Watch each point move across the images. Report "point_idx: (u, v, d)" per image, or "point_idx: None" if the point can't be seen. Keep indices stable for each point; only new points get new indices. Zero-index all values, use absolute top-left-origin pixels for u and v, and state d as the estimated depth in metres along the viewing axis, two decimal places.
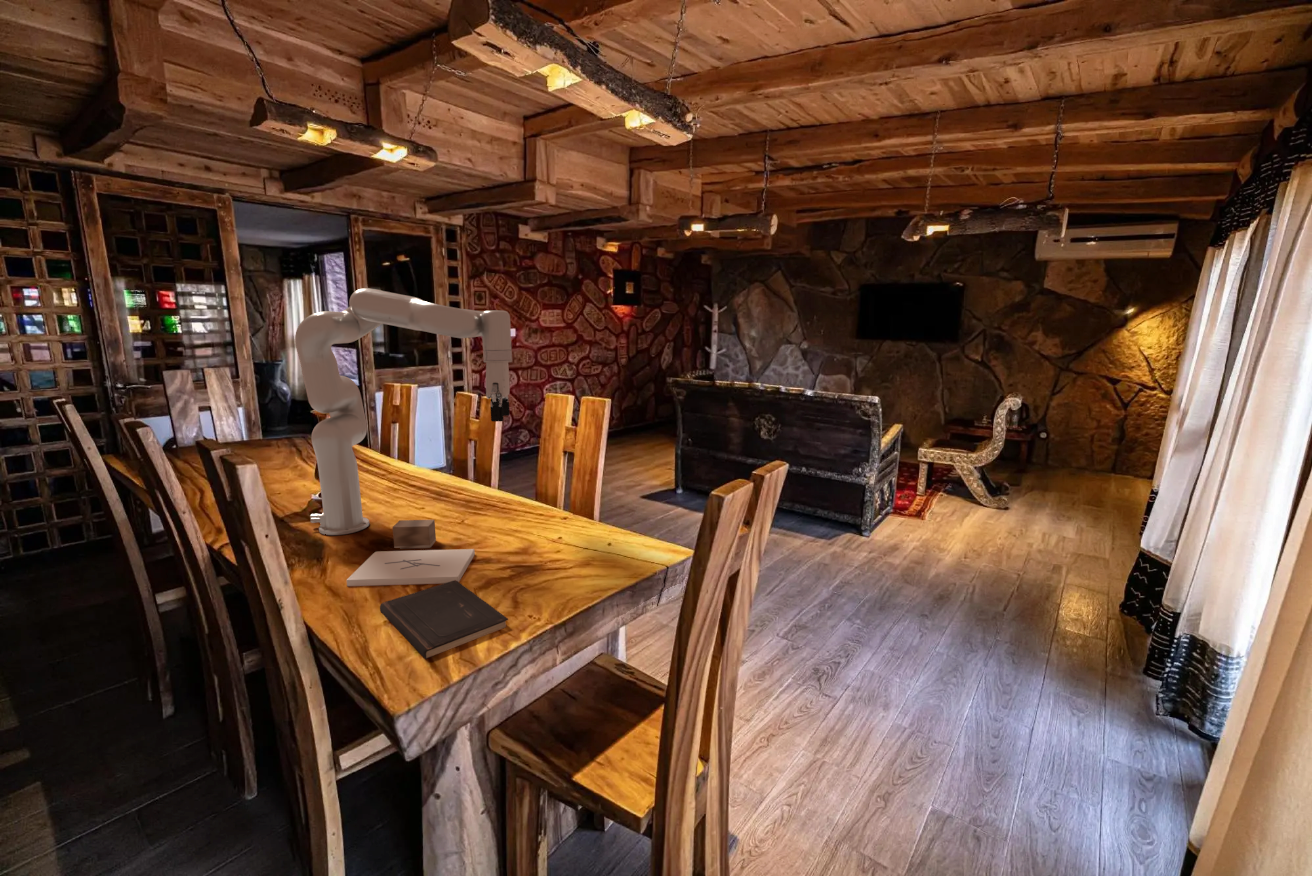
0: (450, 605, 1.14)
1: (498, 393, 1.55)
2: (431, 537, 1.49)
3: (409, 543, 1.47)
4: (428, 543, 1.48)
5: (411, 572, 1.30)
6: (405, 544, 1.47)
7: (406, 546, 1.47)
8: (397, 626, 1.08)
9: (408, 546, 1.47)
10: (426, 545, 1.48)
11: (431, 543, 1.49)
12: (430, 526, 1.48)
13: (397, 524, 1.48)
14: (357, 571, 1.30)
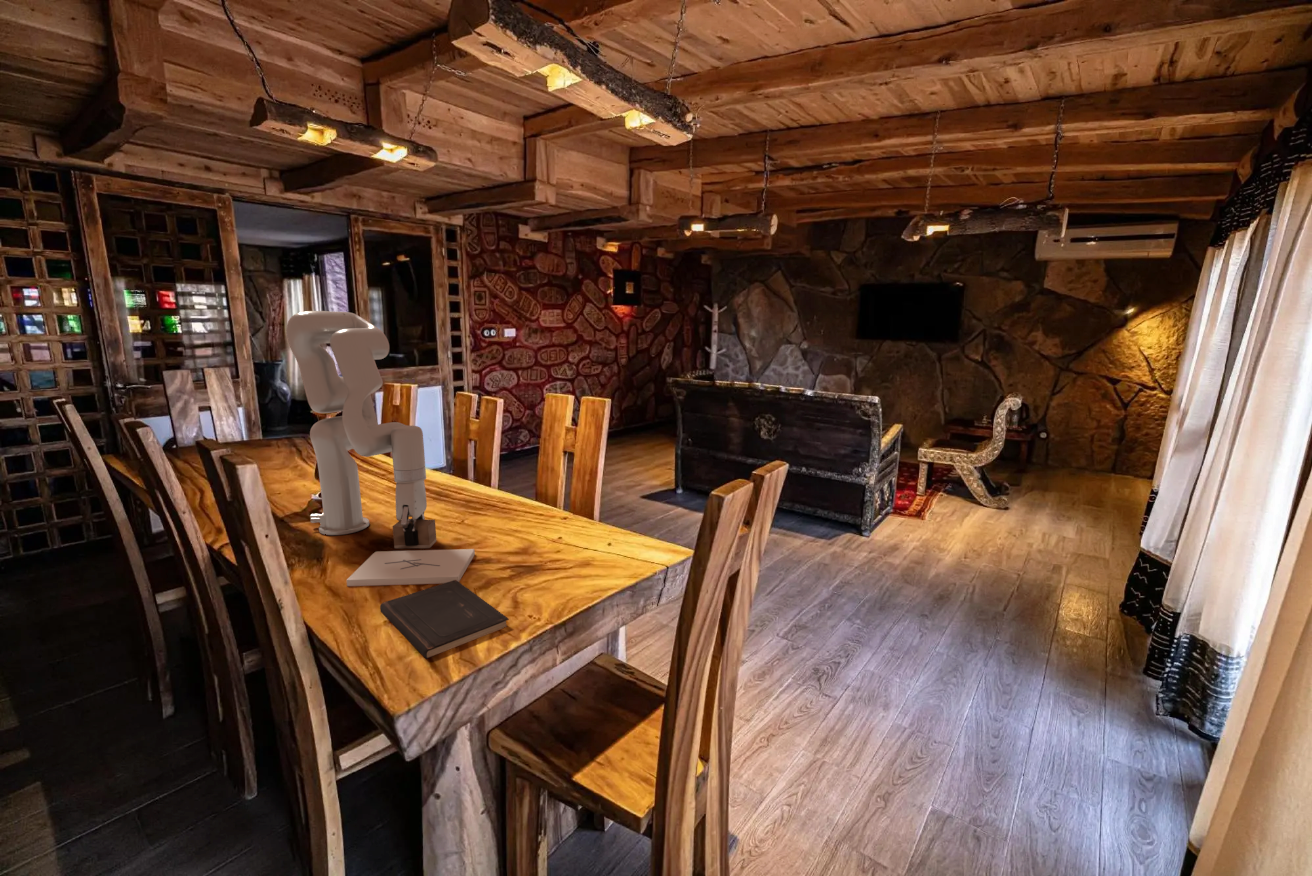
0: (451, 604, 1.14)
1: (411, 515, 1.46)
2: (431, 537, 1.49)
3: None
4: (427, 543, 1.47)
5: (411, 572, 1.30)
6: None
7: None
8: (397, 626, 1.08)
9: None
10: (425, 545, 1.47)
11: (431, 543, 1.49)
12: (429, 525, 1.48)
13: (397, 523, 1.48)
14: (357, 571, 1.30)
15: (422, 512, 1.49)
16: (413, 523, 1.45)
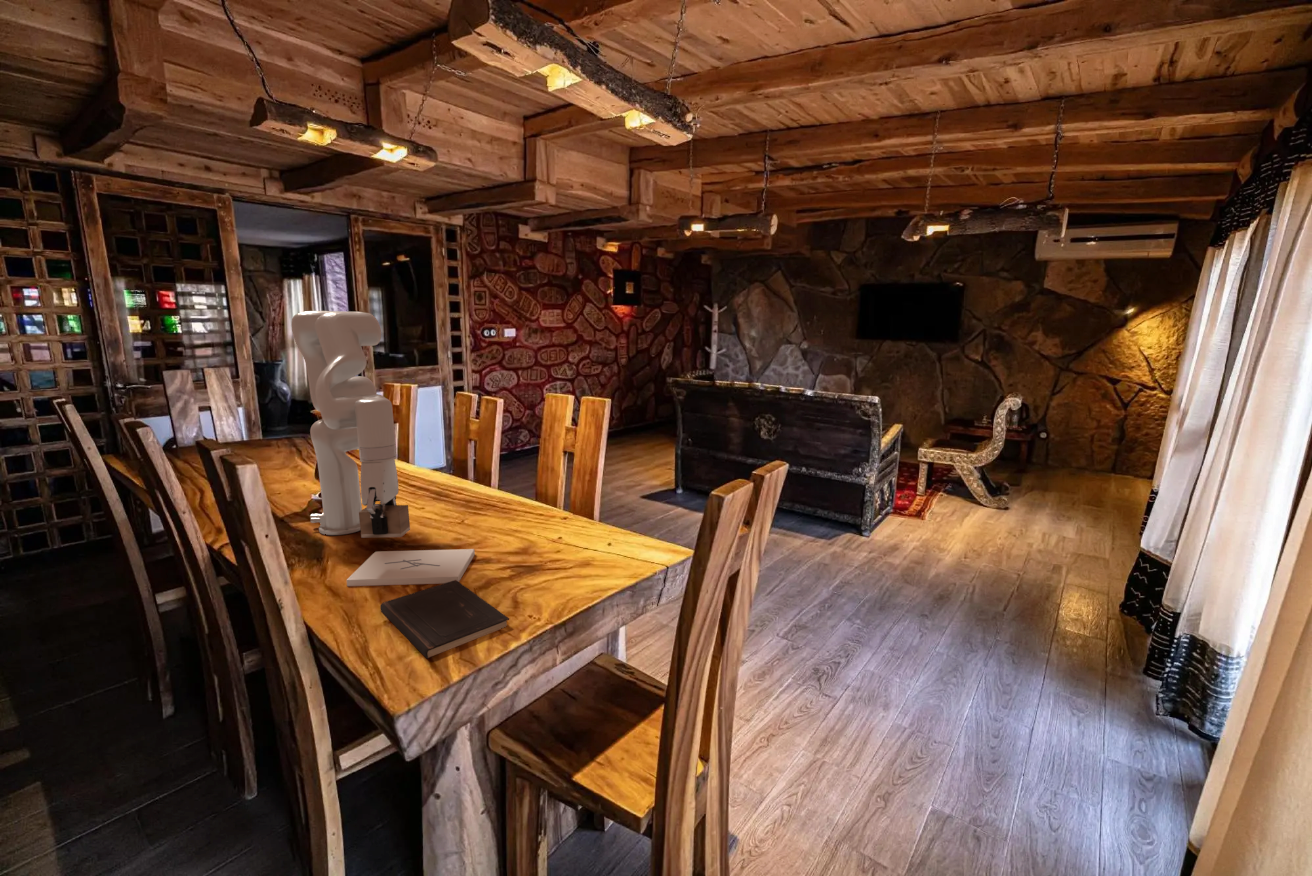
0: (451, 604, 1.14)
1: (379, 499, 1.28)
2: (403, 525, 1.31)
3: None
4: (399, 531, 1.30)
5: (411, 572, 1.30)
6: None
7: None
8: (398, 626, 1.08)
9: None
10: (397, 533, 1.30)
11: (403, 531, 1.31)
12: (401, 511, 1.30)
13: (365, 509, 1.30)
14: (357, 571, 1.30)
15: (393, 497, 1.31)
16: (381, 508, 1.27)
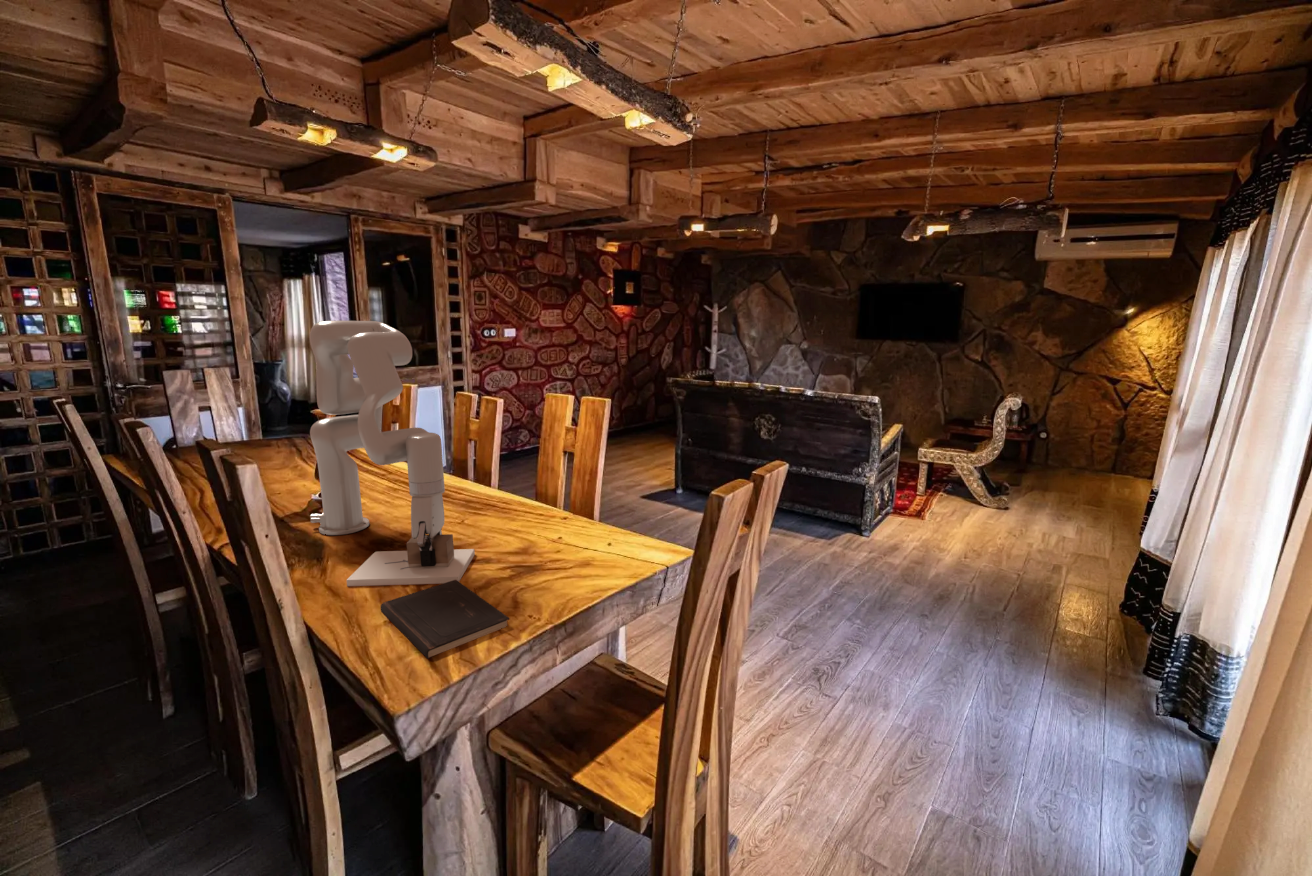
0: (451, 604, 1.14)
1: (428, 532, 1.31)
2: (449, 554, 1.34)
3: None
4: (446, 561, 1.32)
5: (411, 572, 1.30)
6: (420, 562, 1.32)
7: None
8: (398, 626, 1.08)
9: None
10: (443, 563, 1.32)
11: (449, 561, 1.34)
12: (448, 541, 1.33)
13: (411, 539, 1.33)
14: (357, 571, 1.30)
15: (440, 528, 1.34)
16: (430, 541, 1.30)
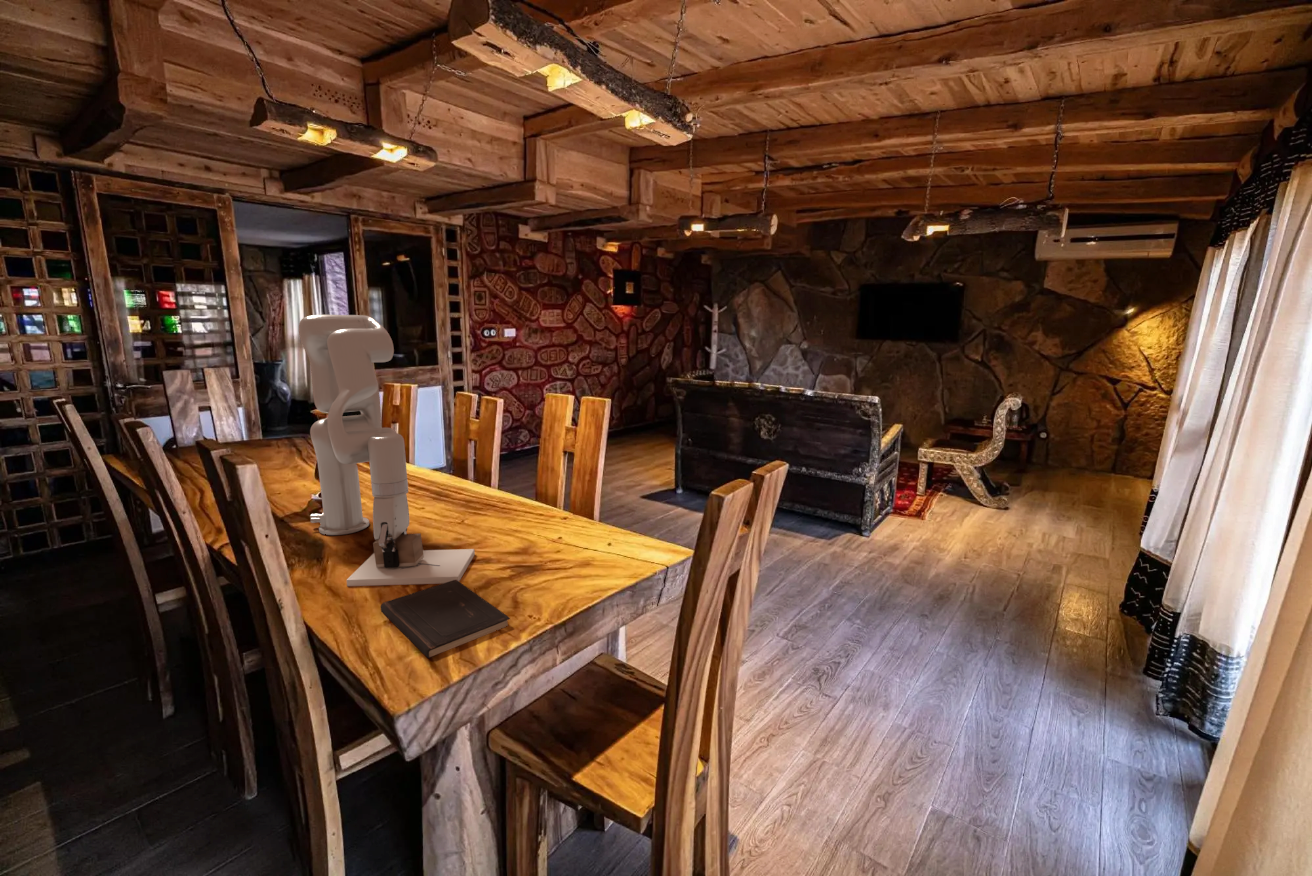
0: (452, 604, 1.14)
1: None
2: (417, 553, 1.33)
3: None
4: (413, 560, 1.31)
5: (411, 572, 1.30)
6: None
7: None
8: (399, 626, 1.08)
9: None
10: (411, 562, 1.32)
11: (417, 560, 1.33)
12: (414, 541, 1.32)
13: None
14: (357, 571, 1.30)
15: (404, 529, 1.33)
16: (393, 542, 1.29)
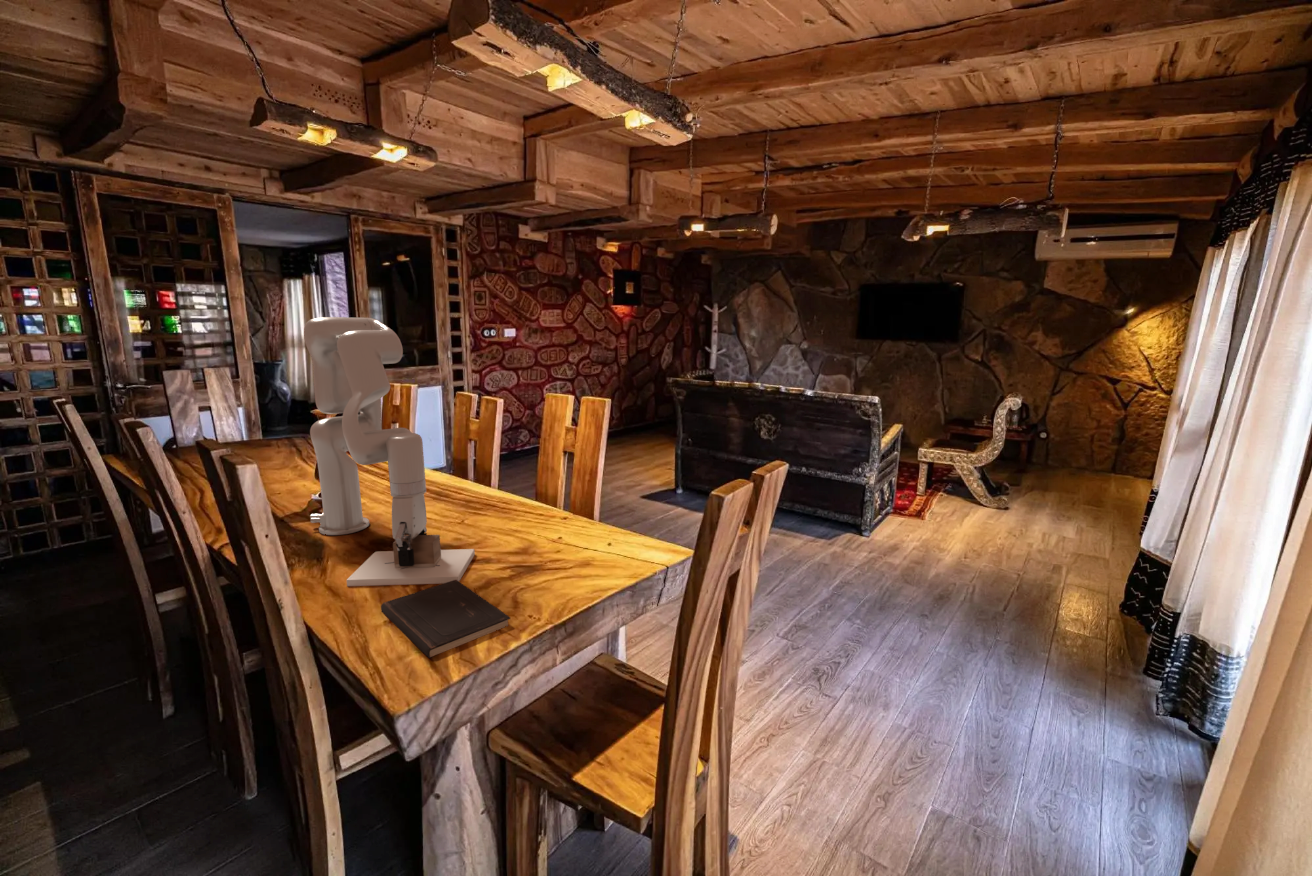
0: (452, 604, 1.15)
1: (408, 532, 1.30)
2: (436, 554, 1.34)
3: None
4: (432, 561, 1.32)
5: (411, 572, 1.30)
6: None
7: None
8: (399, 626, 1.08)
9: None
10: (430, 563, 1.32)
11: (435, 561, 1.33)
12: (434, 542, 1.33)
13: None
14: (357, 571, 1.30)
15: (421, 529, 1.34)
16: (409, 540, 1.28)
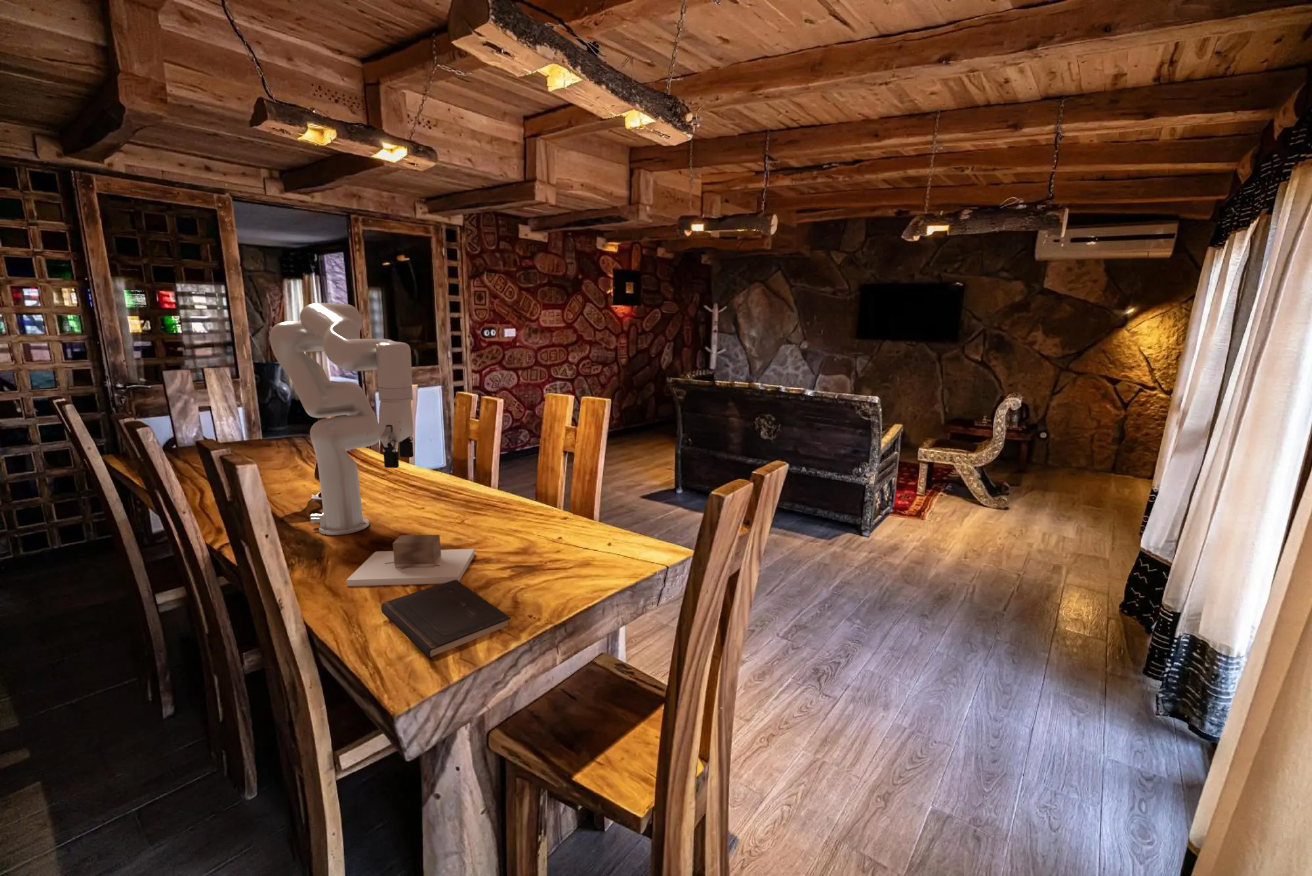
0: (452, 604, 1.15)
1: (394, 436, 1.37)
2: (436, 554, 1.34)
3: (411, 561, 1.32)
4: (432, 561, 1.32)
5: (411, 572, 1.30)
6: (407, 562, 1.32)
7: (408, 564, 1.32)
8: (399, 625, 1.08)
9: (410, 564, 1.32)
10: (430, 563, 1.32)
11: (435, 561, 1.33)
12: (434, 542, 1.33)
13: (398, 540, 1.33)
14: (357, 571, 1.30)
15: (407, 436, 1.41)
16: (394, 443, 1.35)
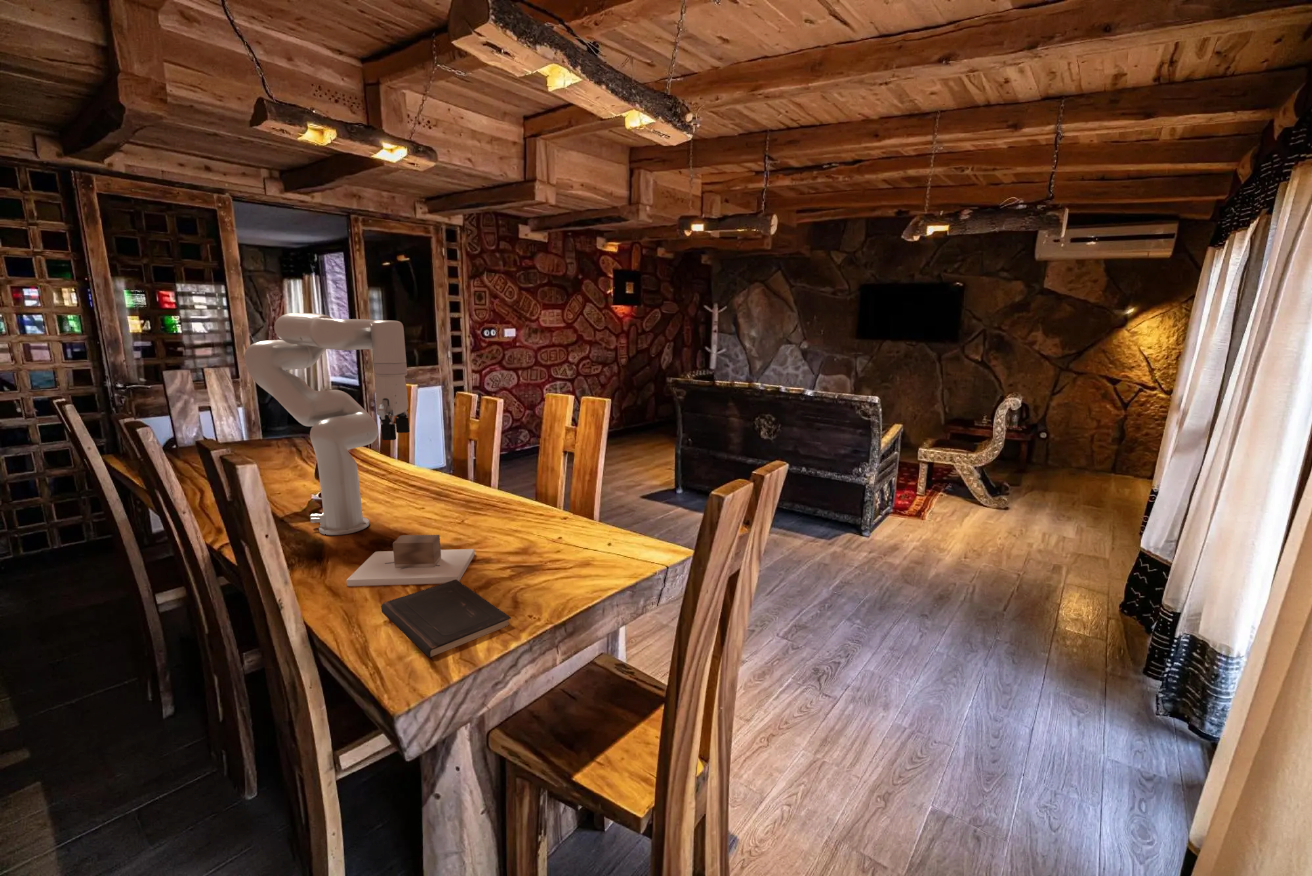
0: (452, 604, 1.15)
1: (390, 409, 1.43)
2: (436, 554, 1.34)
3: (411, 561, 1.32)
4: (432, 561, 1.32)
5: (411, 572, 1.30)
6: (407, 562, 1.32)
7: (408, 564, 1.32)
8: (399, 626, 1.08)
9: (410, 564, 1.32)
10: (430, 563, 1.32)
11: (435, 561, 1.33)
12: (434, 542, 1.33)
13: (398, 540, 1.33)
14: (357, 571, 1.30)
15: (403, 410, 1.48)
16: (391, 415, 1.42)
